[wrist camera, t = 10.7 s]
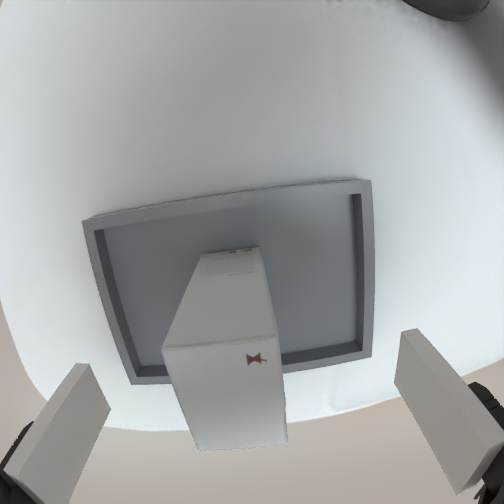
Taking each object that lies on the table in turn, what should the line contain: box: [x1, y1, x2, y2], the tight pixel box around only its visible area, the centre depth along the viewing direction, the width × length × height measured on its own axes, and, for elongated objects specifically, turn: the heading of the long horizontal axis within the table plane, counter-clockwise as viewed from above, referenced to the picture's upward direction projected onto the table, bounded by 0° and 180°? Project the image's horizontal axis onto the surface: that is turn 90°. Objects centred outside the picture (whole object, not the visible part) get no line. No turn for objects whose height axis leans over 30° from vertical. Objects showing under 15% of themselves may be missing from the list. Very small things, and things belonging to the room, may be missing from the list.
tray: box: [82, 179, 375, 385], centre depth 22 cm, size 20×14×2 cm
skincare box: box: [161, 247, 288, 451], centre depth 16 cm, size 6×4×12 cm
